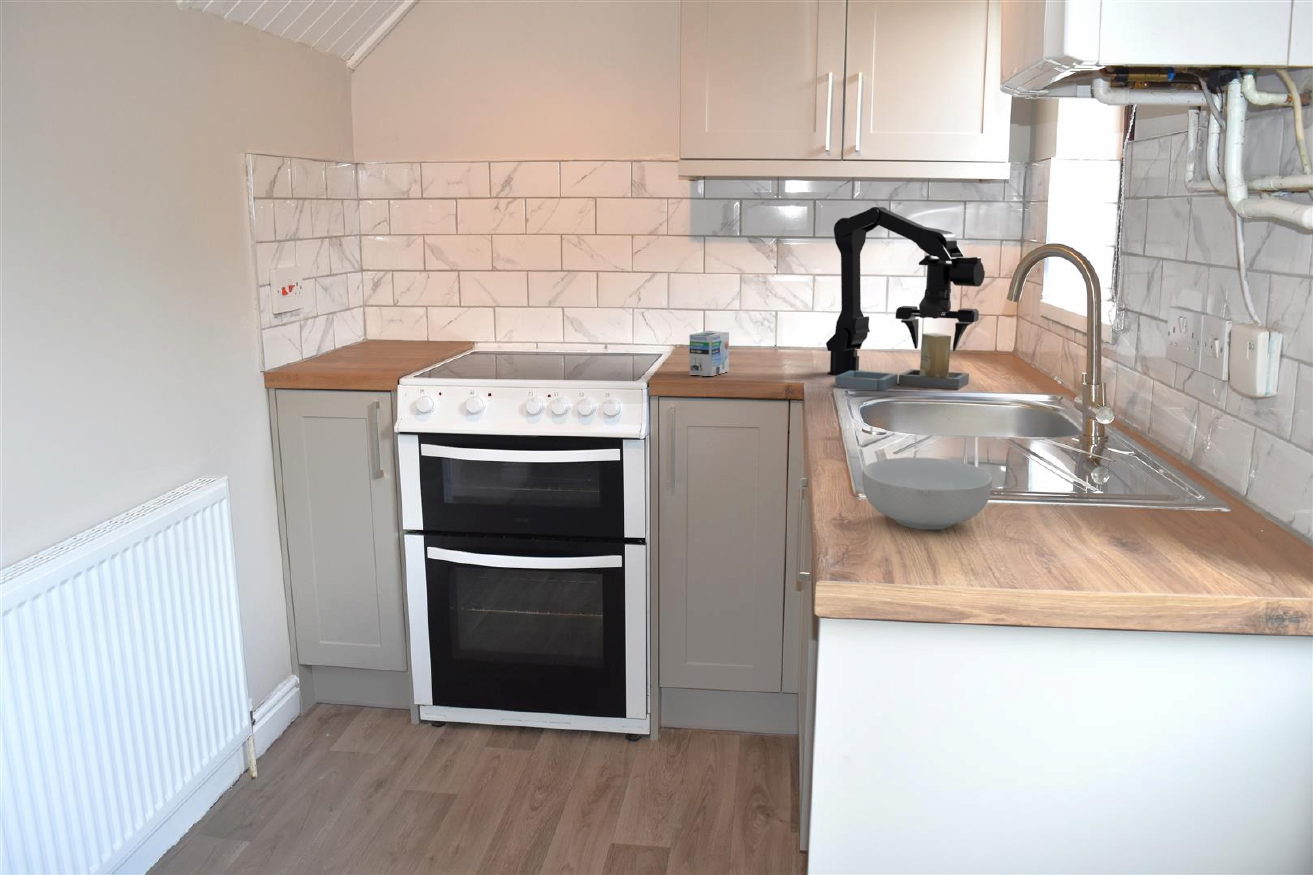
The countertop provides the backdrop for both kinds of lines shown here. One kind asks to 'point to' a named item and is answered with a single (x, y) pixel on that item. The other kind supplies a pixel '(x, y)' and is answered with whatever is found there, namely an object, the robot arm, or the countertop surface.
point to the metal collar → (934, 380)
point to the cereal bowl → (926, 491)
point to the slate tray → (866, 380)
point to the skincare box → (935, 355)
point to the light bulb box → (709, 353)
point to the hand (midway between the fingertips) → (934, 349)
